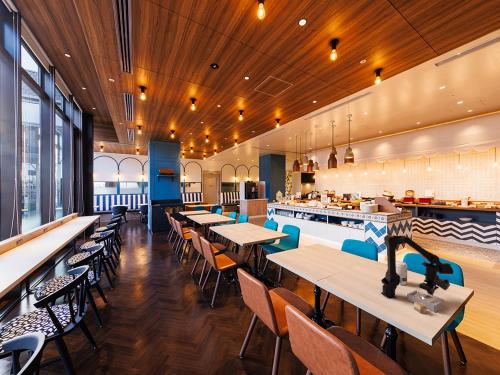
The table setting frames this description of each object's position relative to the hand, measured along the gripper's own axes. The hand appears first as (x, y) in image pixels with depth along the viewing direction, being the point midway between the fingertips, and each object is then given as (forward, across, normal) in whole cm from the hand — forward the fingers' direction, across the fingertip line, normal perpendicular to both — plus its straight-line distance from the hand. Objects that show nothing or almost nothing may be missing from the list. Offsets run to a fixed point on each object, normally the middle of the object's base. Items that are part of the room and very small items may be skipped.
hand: (431, 297), depth 131 cm
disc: (0, -7, 0) cm, 7 cm away
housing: (+1, -8, 0) cm, 9 cm away
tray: (+1, -7, 0) cm, 7 cm away
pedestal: (+1, -20, -2) cm, 21 cm away
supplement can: (+2, +8, +21) cm, 23 cm away
